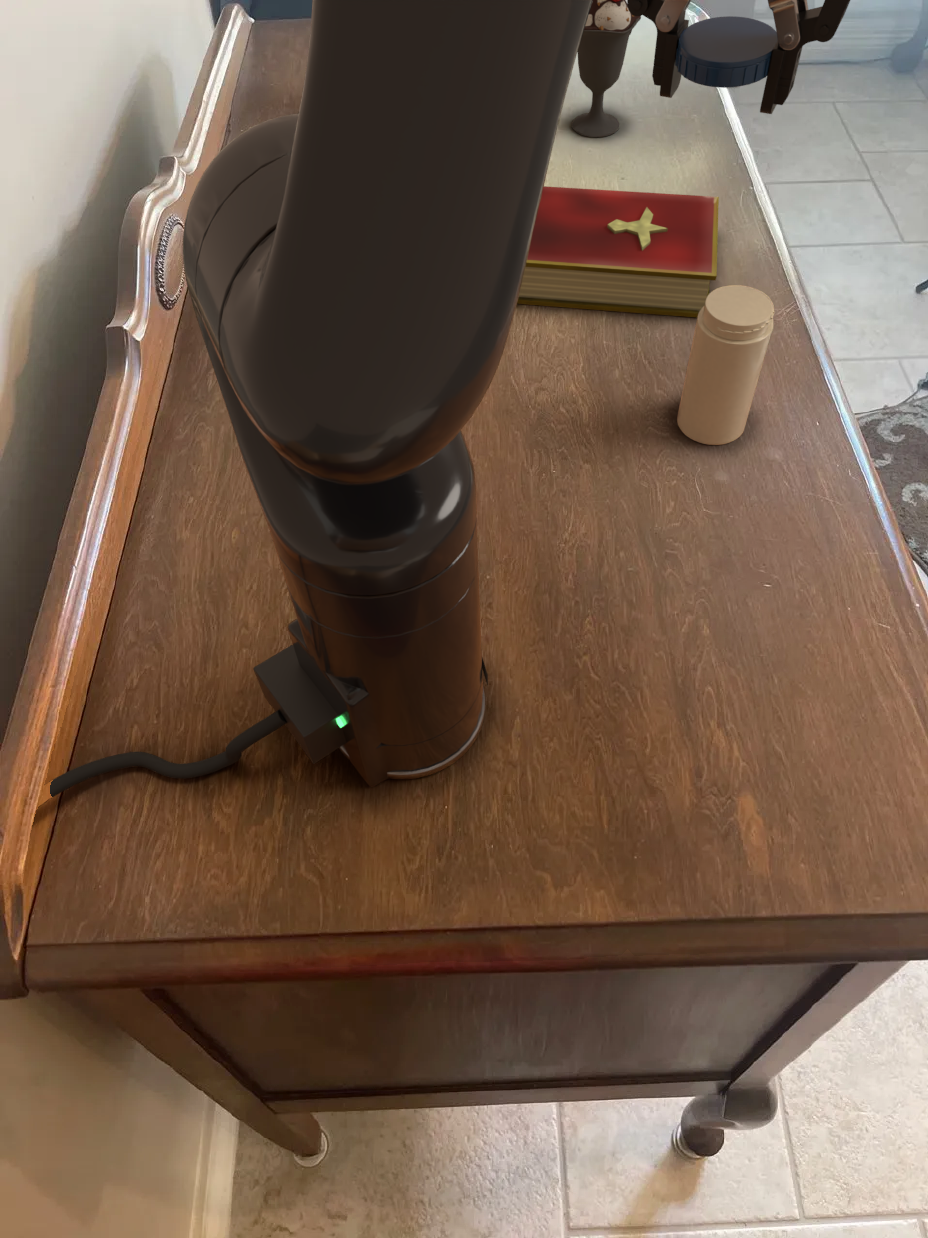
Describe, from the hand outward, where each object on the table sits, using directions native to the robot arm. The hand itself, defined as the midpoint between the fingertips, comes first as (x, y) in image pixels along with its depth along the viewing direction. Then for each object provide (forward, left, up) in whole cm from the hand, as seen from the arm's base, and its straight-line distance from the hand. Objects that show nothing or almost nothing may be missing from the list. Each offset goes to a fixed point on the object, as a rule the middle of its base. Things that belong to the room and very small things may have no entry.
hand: (718, 98), depth 57 cm
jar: (-3, -7, -20) cm, 21 cm away
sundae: (+20, +32, -20) cm, 42 cm away
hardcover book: (+3, +14, -20) cm, 24 cm away
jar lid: (0, 0, +3) cm, 3 cm away
